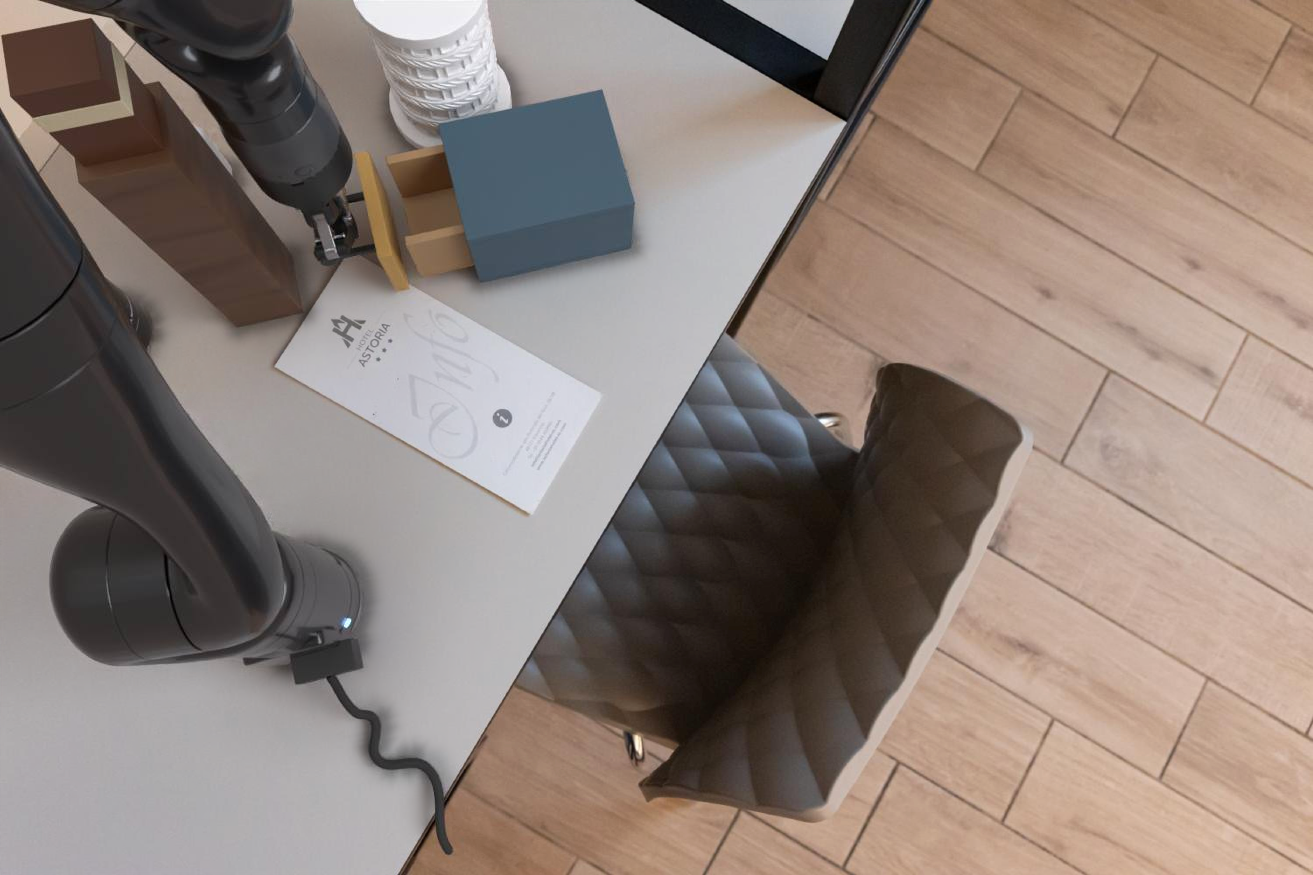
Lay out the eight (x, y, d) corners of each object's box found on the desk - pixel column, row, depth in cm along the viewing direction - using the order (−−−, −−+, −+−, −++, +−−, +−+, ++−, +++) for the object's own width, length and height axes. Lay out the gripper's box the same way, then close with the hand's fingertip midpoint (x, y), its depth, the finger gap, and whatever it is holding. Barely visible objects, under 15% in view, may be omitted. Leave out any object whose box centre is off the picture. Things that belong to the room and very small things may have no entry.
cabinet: (480, 283, 91) (466, 240, 82) (454, 177, 94) (437, 123, 84) (631, 248, 93) (634, 202, 84) (602, 144, 95) (602, 89, 86)
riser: (303, 312, 90) (174, 162, 63) (237, 328, 89) (77, 183, 62) (291, 253, 91) (159, 80, 64) (226, 268, 90) (64, 99, 63)
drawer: (339, 305, 89) (315, 272, 82) (319, 207, 91) (293, 166, 84) (540, 259, 91) (534, 223, 84) (515, 164, 93) (508, 121, 86)
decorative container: (509, 160, 94) (488, 47, 77) (387, 156, 94) (338, 41, 76) (514, 53, 97) (495, -80, 79) (395, 48, 96) (349, -87, 79)
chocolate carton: (164, 151, 63) (103, 79, 55) (83, 168, 62) (8, 98, 54) (154, 95, 64) (92, 16, 56) (73, 111, 63) (-1, 34, 55)
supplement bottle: (171, 333, 89) (106, 284, 77) (111, 386, 87) (36, 344, 76) (120, 283, 90) (48, 227, 78) (60, 335, 88) (-22, 285, 77)
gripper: (217, 62, 71) (291, 176, 88) (248, 227, 69) (318, 312, 85) (320, 42, 72) (374, 159, 89) (355, 204, 69) (403, 293, 86)
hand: (346, 234), depth 87 cm, fingers closed
